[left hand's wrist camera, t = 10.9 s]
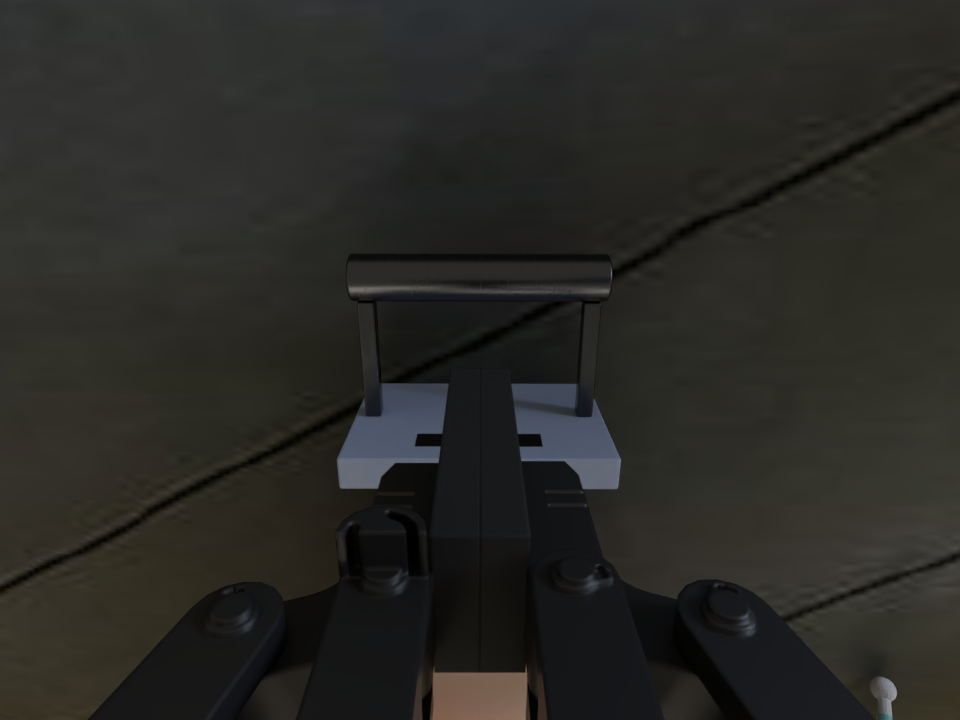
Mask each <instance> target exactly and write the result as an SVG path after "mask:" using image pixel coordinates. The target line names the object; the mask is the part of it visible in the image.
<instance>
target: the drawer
mask: <svg viewBox="0 0 960 720" xmlns="http://www.w3.org/2000/svg"><path fill="white" fill-rule="evenodd" d="M612 280H613V270H612V262H611V258H610V256H609V255H607V254H350V255H349V257H348V260H347V265H346V285H347V291H348V295H349V298H350V299H351V300H352V301H358V303H357V309H358V322H359V335H360V348H361V361H362V374H363V387H364V399H363V402H362V404H361V406H360V408H359V411H358V413H357V415H356V417H355V420H354V422H353V424H352V426H351V429H350V431H349V433H348V435H347V437H346V440H345V442H344V444H343V446H342V449H341V451H340V453H339V455H338V458H337V467H338V477H339V486H340V488H341V489H377V490H378V486H379V483H380V480H381V476H382V475H383V474H384V473H385V472H387V471H388V470H389V469H390V468H391V467H392V466H393V465H394V464H395V463H439V455H440V447H441V439H442V431H443V423H444V416H445V408H446V400H447V392H448V384H401V383H382V382H381V366H380V350H379V335H378V319H377V304H376V301H533V302H582V311H581V326H580V340H579V355H578V370H577V384H512V392H513V400H514V408H515V416H516V423H517V431H518V439H519V447H520V455H521V461H565V462H566V463H567V464H568V465H569V466H570V467H571V468H572V469H573V470H574V471H575V472H576V473H577V474H578V475H579V477H580V481H581V484H582V488H583V489H617V488H618V483H619V474H620V464H621V459H620V457H619V454H618V452H617V450H616V448H615V445H614V443H613V441H612V439H611V436H610V434H609V432H608V429H607V427H606V425H605V423H604V420H603V418H602V416H601V413H600V411H599V409H598V407H597V404H596V402H595V400H594V389H595V377H596V364H597V352H598V340H599V327H600V315H601V303H600V302H605V301H607V300H608V299H609V297H610V294H611V289H612ZM376 496H377V491H376V494H375V497H376ZM374 500H375V498H374ZM373 504H374V501H373ZM373 504H372V507H373Z"/></svg>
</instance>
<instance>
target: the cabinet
mask: <svg viewBox="0 0 960 720" xmlns="http://www.w3.org/2000/svg"><path fill="white" fill-rule="evenodd" d="M433 699H434V707H433V720H526V699H527V669H526V673H434V672H433Z"/></svg>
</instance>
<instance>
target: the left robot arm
mask: <svg viewBox="0 0 960 720" xmlns="http://www.w3.org/2000/svg"><path fill="white" fill-rule="evenodd" d="M335 537H336V546H337V555H338V564H339V573H340V580H339V582H338V583H337V584H335V585H333V586H332V587H330V588H328V589H326V590H324V591H321V592H318V593H315V594H312V595H309V596H304V597H300V598H296V599H292V600H288V601H284V602H283V599H282V596H281V595H280V594H279V593H278V591H277V590H276V589H275V588H274V587H271V586H269V585H266V584H264V583H261V582H241V583H237V584H233V585H228V586H225V587H223V588H221V589H219V590H216V591H214V592H212V593H210V594H208V595H207V596H205V597H204V598H203V599H202V600H200V601H199V602H198V603H197V604H196V605H194V606H193V607H192V608H191V609H190V610H189V611H188V612H187V613H186V614H185V616H184V617H183V618H182V619H181V620H180V621H179V622H178V623H177V624H176V625H175V626H174V627H173V628H172V630H171V631H170V632H169V633H168V634H167V635H166V636H165V637H164V638H163V639H162V640H161V641H160V642H159V643H158V645H157V646H156V647H155V648H154V649H153V650H152V651H151V652H150V653H149V654H148V655H147V656H146V657H145V659H144V660H143V661H142V662H141V663H140V664H139V665H138V666H137V667H136V668H135V669H134V670H133V671H132V673H131V674H130V675H129V676H128V677H127V678H126V679H125V680H124V681H123V682H122V683H121V684H120V685H119V687H118V688H117V689H116V690H115V691H114V692H113V693H112V694H111V695H110V696H109V697H108V698H107V699H106V701H105V702H104V703H103V704H102V705H101V706H100V707H99V708H98V709H97V710H96V711H95V712H94V713H93V715H92V716H91V717H90V718H89V719H88V720H433V707H434V699H433V672H434V673H526V669H527V699H526V720H876V719H875V718H874V717H873V716H872V715H871V714H870V713H869V712H868V711H867V710H866V709H865V708H864V707H863V705H862V704H861V703H860V702H859V701H858V700H857V699H856V698H855V697H854V696H853V695H852V694H851V693H850V692H849V690H848V689H847V688H846V687H845V686H844V685H843V684H842V683H841V682H840V681H839V680H838V679H837V678H836V677H835V675H834V674H833V673H832V672H831V671H830V670H829V669H828V668H827V667H826V666H825V665H824V664H823V663H822V662H821V661H820V659H819V658H818V657H817V656H816V655H815V654H814V653H813V652H812V651H811V650H810V649H809V648H808V647H807V646H806V644H805V643H804V642H803V641H802V640H801V639H800V638H799V637H798V636H797V635H796V634H795V633H794V632H793V631H792V630H791V628H790V627H789V626H788V625H787V624H786V623H785V622H784V621H783V620H782V619H781V618H780V617H779V616H778V615H777V613H776V612H775V611H774V610H773V609H772V608H771V607H770V606H769V605H768V604H767V603H766V602H764V601H763V600H762V599H761V598H759V597H758V596H757V595H756V594H754V593H753V592H751V591H749V590H747V589H745V588H743V587H741V586H739V585H737V584H734V583H729V582H725V581H721V580H698V581H696V582H693V583H691V584H688V585H686V586H685V587H684V588H683V590H682V591H681V592H680V593H679V595H678V599H673V598H669V597H665V596H661V595H657V594H653V593H649V592H646V591H643V590H640V589H637V588H635V587H633V586H631V585H629V584H627V583H625V582H624V581H622V580H621V579H620V577H619V575H618V573H617V571H616V570H615V568H614V566H613V565H612V564H610V563H609V562H608V561H607V560H605V559H604V558H603V556H602V552H601V549H600V546H599V542H598V539H597V535H596V532H595V529H594V525H593V522H592V518H591V515H590V511H589V508H588V507H587V501H586V498H585V494H583V488H582V484H581V481H580V477H579V475H578V474H577V473H576V472H575V471H574V470H573V469H572V468H571V467H570V466H569V465H568V464H567V463H566V462H565V461H521V455H520V447H519V439H518V431H517V423H516V416H515V408H514V400H513V392H512V384H511V376H510V369H450V376H449V384H448V392H447V400H446V408H445V416H444V423H443V431H442V439H441V447H440V455H439V463H395V464H394V465H393V466H392V467H391V468H390V469H389V470H388V471H387V472H385V473H384V474H383V475H382V476H381V480H380V483H379V486H378V490H377V496H376V497H375V500H374V504H373V507H369V508H366V509H364V510H361V511H358V512H355V513H354V514H352V515H351V516H349V517H348V518H347V519H345V520H344V521H342V523H341V524H340V526H339V527H338V529H337V530H336V532H335Z"/></svg>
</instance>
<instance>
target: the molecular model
mask: <svg viewBox="0 0 960 720" xmlns="http://www.w3.org/2000/svg"><path fill="white" fill-rule="evenodd" d="M870 690H871V693H872V694H873V696H875V697H876V698H877V702H878V718H879V720H892V708H891V702H892V701H893V700H894V699H895V698H896V696H897V690H896V688H895V686H894V684H893V683H892V682H891V681H890V680H888V679H886V678H884V677H875V678H874V679H872V680H871V682H870Z"/></svg>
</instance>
